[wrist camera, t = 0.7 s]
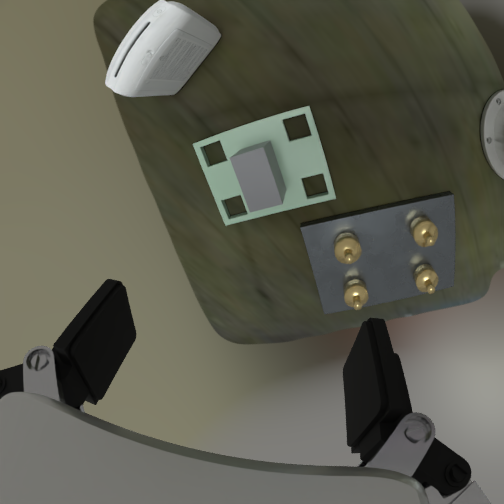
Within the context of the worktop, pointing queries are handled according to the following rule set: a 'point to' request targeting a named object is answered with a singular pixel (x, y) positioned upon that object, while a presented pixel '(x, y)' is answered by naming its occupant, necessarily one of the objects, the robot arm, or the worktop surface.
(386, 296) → the plate
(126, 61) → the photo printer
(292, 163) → the board
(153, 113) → the worktop surface
